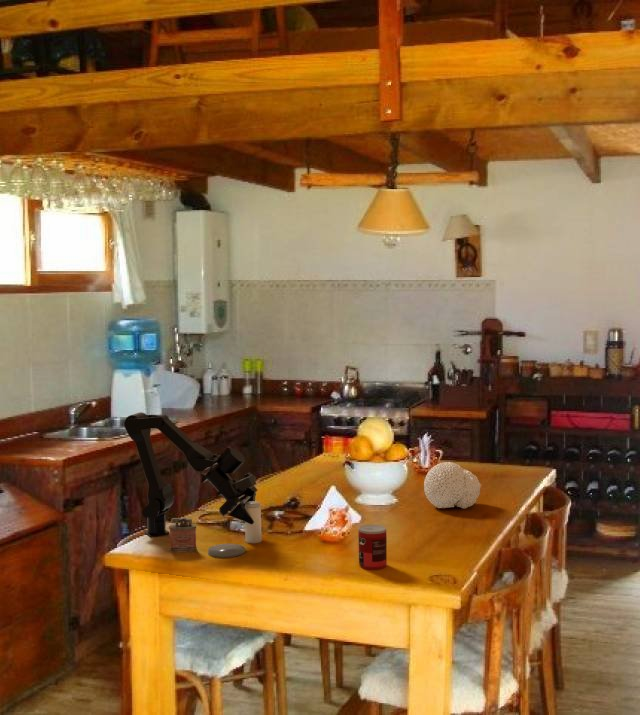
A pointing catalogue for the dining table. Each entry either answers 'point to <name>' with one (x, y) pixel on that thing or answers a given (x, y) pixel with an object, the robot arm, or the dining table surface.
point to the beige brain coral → (451, 486)
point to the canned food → (372, 547)
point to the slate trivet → (226, 550)
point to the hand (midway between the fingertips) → (257, 520)
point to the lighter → (182, 535)
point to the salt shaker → (253, 529)
